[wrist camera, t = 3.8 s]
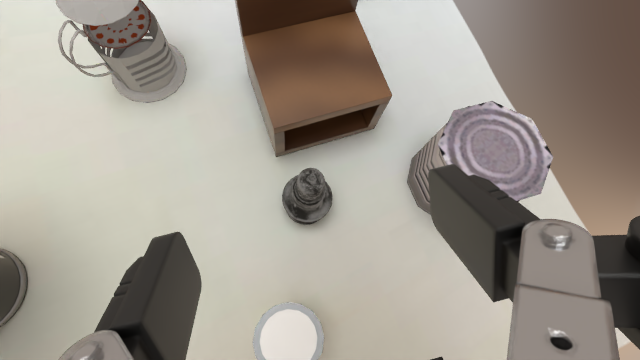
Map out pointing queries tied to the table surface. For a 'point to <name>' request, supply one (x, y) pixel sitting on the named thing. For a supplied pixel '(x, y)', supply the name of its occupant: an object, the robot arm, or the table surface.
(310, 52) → the l-shaped wooden block
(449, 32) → the table surface
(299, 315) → the white short cylinder
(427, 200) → the can
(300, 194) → the chess piece
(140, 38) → the french press
